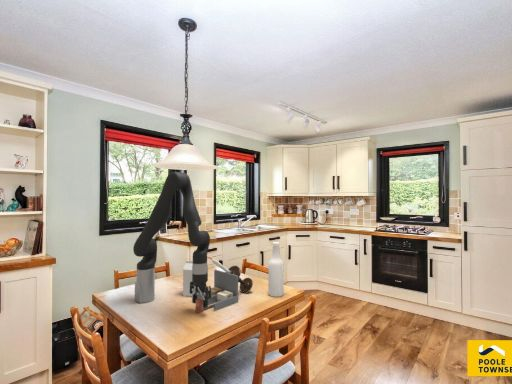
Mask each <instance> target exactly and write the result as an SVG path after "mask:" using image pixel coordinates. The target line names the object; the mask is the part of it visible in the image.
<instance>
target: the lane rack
mask: <svg viewBox="0 0 512 384" xmlns="http://www.w3.org/2000/svg"><path fill="white" fill-rule="evenodd" d="M213 272H214V273H213V280H214V281H213V287H216V288H219V289H222V291H225V290H226V291H229V292H232V293H233V297H230V298H227V299H225V300H222V301H219V302H217V294H216V295H213V296H211V299H208V306H210V305H212V304H214V307H213V311H214V312H217V311H219V310H222V309H224V308H226V307H229V306H232V305H235V304H237V303H239V282H238V276H237V275H234V274H230V273H226V272H225V271H224V270H217V269H214V270H213ZM204 293H205V292H204ZM204 296H205V295H204ZM191 298H192V299H191V302H193V296H191ZM199 298H202V299H203V297H202V296H201V295H200V294H199V293H197V299H199Z"/></svg>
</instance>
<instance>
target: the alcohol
mask: <svg viewBox="0 0 512 384" xmlns="http://www.w3.org/2000/svg"><path fill="white" fill-rule="evenodd" d="M280 250H281V249H280V242H279V241H273V242H272V251H271V252H272V254H271V258H270V259H269V260H268V266H267V267H268V272H267V274H268V281H267V282H268V285H267V287H268V289H267V290H268V291H267V292H268V295H269V296H270V297H274V298H279V297H282V296H283V295H284V292H285V291H284V288H285V287H284V284H285V280H284V277H285V275H284V272H285V269H284V268H285V267H284V261H283V260H282V258H281V251H280Z"/></svg>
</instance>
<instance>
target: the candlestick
mask: <svg viewBox="0 0 512 384" xmlns="http://www.w3.org/2000/svg"><path fill="white" fill-rule="evenodd" d="M207 259H208V260H209V259H210V260H212V263H213V264H215V265H216V266H218V268H220V269H221V270H222V271H223V272H226V273H230V274H234V275H237V276H238V283H239V290H240V292H241V293H243V294H247V293H248V292H249V291H250V290H252V287H253V285H254V281H253V279H252V278H250V277H245V278H244V279H242V278H241V274H242V272H241V268H240V267H239V266H238V265H231V266H230V267H228V268H227V267H226V266H225V265H223V264H222V263H220V262H219V261H218V260H217V259H216V258H212V257H210V256H209V257H208V256H207Z"/></svg>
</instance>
